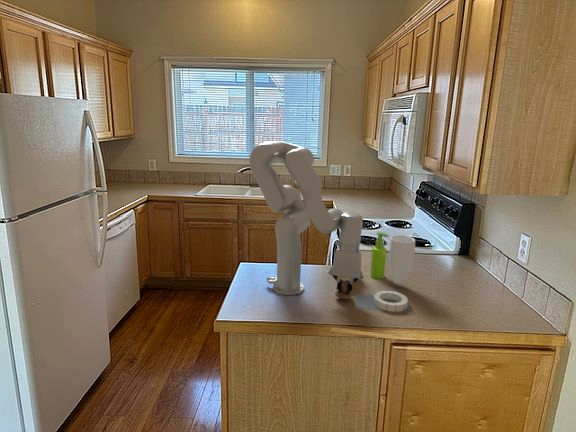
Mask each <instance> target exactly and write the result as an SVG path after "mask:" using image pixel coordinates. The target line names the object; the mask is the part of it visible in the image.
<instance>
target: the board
mask: <svg viewBox="0 0 576 432" xmlns="http://www.w3.org/2000/svg"><path fill="white" fill-rule="evenodd" d="M374 295H375V294H365V293H355V300H354V308H356V309H365V310H374V311H383V312H388V311H387V310H386V311H385V310H382V309H380V308H378V307H377V306H375V305H374ZM407 299H408V306H407V308H406V309H405V310H404V311H399V312H398V313H399V314H400V313H401V314H410V315H411V314H412V311H411V306H410V305H411V304H410V300H409V298H407ZM383 301H386V302H390V303H397V302H398V301H396V300H393V299H383ZM389 312H390V313H391V311H389ZM394 313H397V312H396V311H395V312H394Z"/></svg>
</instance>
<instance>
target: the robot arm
mask: <svg viewBox="0 0 576 432" xmlns="http://www.w3.org/2000/svg"><path fill="white" fill-rule="evenodd" d="M248 159H249V160H248V161H249V169H250V172H251V173H252V175H253V177H254V179H255V180H256V182H257V183H256V184H257V185H258V187H259V189H260V191H261V194H262V195H263V198H264V200H265V202H266V205H267V206H268V208H269V209H270V210H271V211H272V212H273V213H281V212H284V214H282V215H281V216H280V217H278V218H277V220H276V223H275V226H274V228H275V230H274V231H275V237H276V276H274V277H272V276H267V277H266V282H268V284H270V285H271V284H273V285H272V289H273V292H275V293H277V294H278V295H283V296H296V295H299V294H301V293H302V292H304V290H305V286H304V284H303V283H302V282H301V271H302V268H301V266H302V242H301V239H300V234H301V233H303V232H304V231H305V230H307V229H308V228H309V226H310V224H311V222H312V224H313V225H314V227H315V228H316V229H317V230H318V231H319V232H320V233H322V234H325V235H329V234H331V233H333V232H335V231H336V230H338V229H340V232H339V241H335V242H334V246H336V247H337V248H336V249H335V253H334V257H333V264H332V266H331V268H330V270H329V271H328V275H329V276H330V277H333V278H334V280H335V282H336V289H338V293H339V292H340V288H341V279H340V278H341V277H348V278H350V282H349V285H348V294H349V293H350V291H352V292H353V285H354V284H355V283H356V282H358V281H361V280H363V279H364V274H363V272H362V252H361V249H360V247H361V246H360V245H361V239H362V230H363V221H364V220H363V219H364V218H363V216H362V215H361V214H359V213H356V212H348V211H345V210H342V209H339V208H330V209H328V208H327V207H326V205H325V202H324V201H323V198H322V187H323V185H322V184H323V183H322V180H321V178H320V176H319V175H318V173H317V171H316V170H315V168H314V167H313V164H314V162H315V157H314V154H313V152H312V151H311V150H310V149H309V148H306V147H303V146H300V145H298V144H297V145H296V144H293V143H289V142H286V141H282V140H273V141H265V142H261V143H259V144H257V145H256V146H255V147H254V148H253V149H252V150H251V152H250V155H249V158H248ZM278 163H281V164H284V166H285V168H286V169H287V171H288V173H289V174H290V176H291V178H292V179H293V180H294V183H295V184H296V186H297V188H298V189H299V191H300V192H301V194H302V197H301V195H300V193H299V192H298V190H297V189H296V188H295V187H294V186H293V185H289V184H283V183H282V181H281V179H280V176H279V175H278V173H277V172H276V170H275V169H273V167H272V165H273V164H278Z"/></svg>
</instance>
